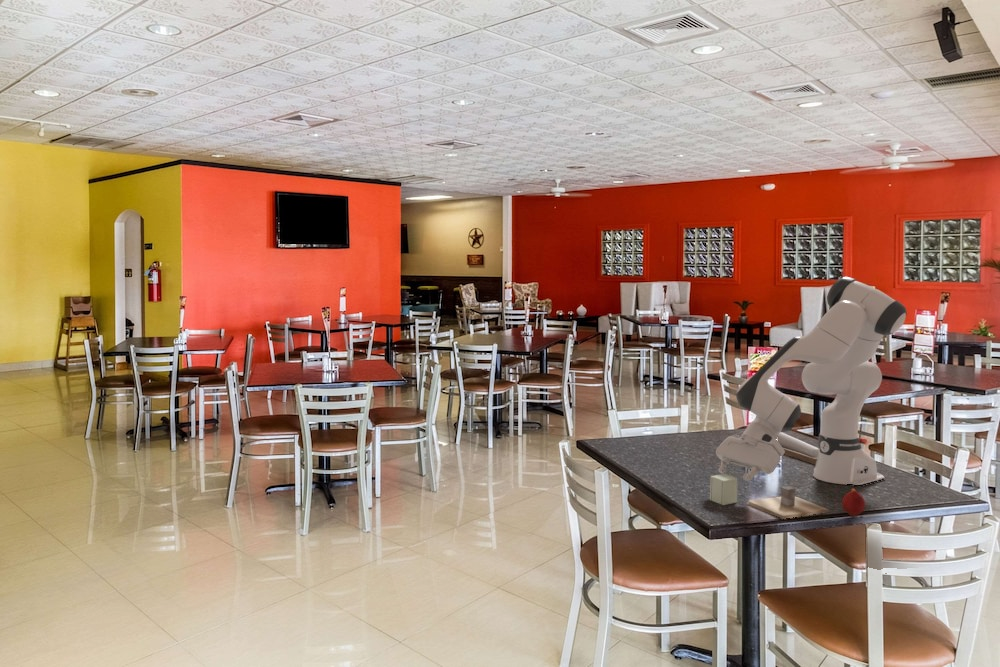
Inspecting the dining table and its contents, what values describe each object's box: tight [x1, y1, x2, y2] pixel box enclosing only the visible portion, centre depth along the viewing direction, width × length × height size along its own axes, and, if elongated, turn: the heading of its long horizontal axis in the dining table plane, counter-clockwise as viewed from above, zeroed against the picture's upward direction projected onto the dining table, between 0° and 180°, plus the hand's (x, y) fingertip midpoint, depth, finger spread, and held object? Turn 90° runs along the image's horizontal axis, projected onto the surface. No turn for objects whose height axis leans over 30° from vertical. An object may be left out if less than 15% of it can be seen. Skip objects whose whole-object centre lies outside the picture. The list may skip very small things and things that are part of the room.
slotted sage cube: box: [709, 473, 739, 506], centre depth 219 cm, size 5×5×7 cm
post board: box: [747, 486, 829, 520], centre depth 213 cm, size 16×14×6 cm
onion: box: [841, 488, 866, 518], centre depth 206 cm, size 6×6×8 cm
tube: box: [777, 432, 819, 458], centre depth 275 cm, size 5×5×25 cm
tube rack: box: [782, 447, 817, 465], centre depth 275 cm, size 11×28×2 cm, turn 22°
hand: (732, 476), depth 219 cm, fingers open, 8 cm apart
